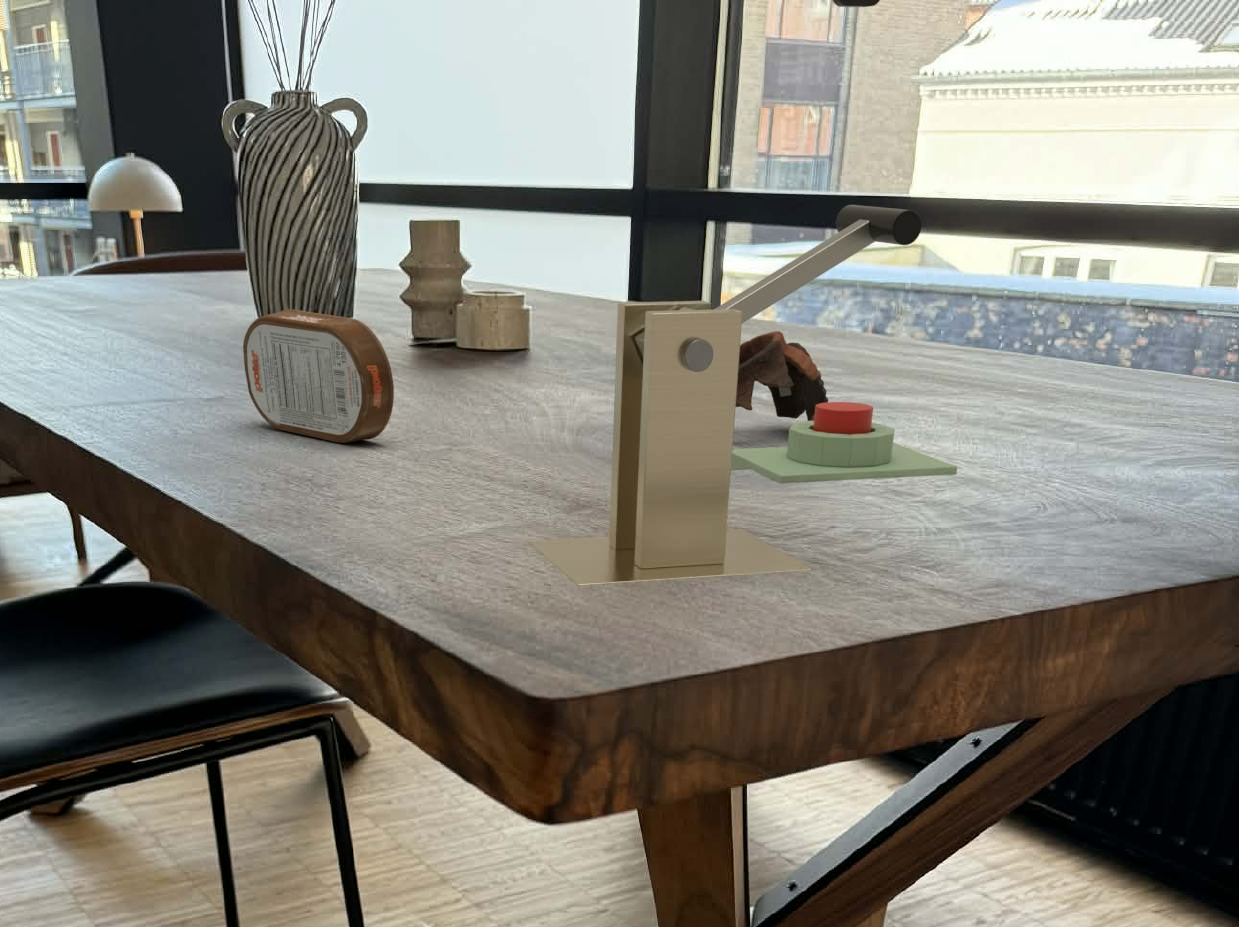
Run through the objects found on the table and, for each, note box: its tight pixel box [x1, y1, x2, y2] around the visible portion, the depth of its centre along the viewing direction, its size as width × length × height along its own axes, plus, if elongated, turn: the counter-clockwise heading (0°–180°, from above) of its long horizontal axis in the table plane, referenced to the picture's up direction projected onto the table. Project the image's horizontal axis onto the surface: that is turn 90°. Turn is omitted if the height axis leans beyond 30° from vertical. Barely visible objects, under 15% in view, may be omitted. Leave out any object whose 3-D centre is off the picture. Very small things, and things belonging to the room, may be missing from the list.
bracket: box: [527, 300, 813, 587], centre depth 74 cm, size 12×9×13 cm
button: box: [813, 401, 874, 434], centre depth 96 cm, size 4×4×2 cm
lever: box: [635, 204, 922, 359], centre depth 72 cm, size 13×6×2 cm, turn 105°
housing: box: [731, 420, 958, 484], centre depth 97 cm, size 12×9×4 cm
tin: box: [242, 308, 395, 444], centre depth 111 cm, size 15×3×8 cm, turn 44°
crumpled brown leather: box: [736, 330, 829, 421], centre depth 113 cm, size 12×10×8 cm
